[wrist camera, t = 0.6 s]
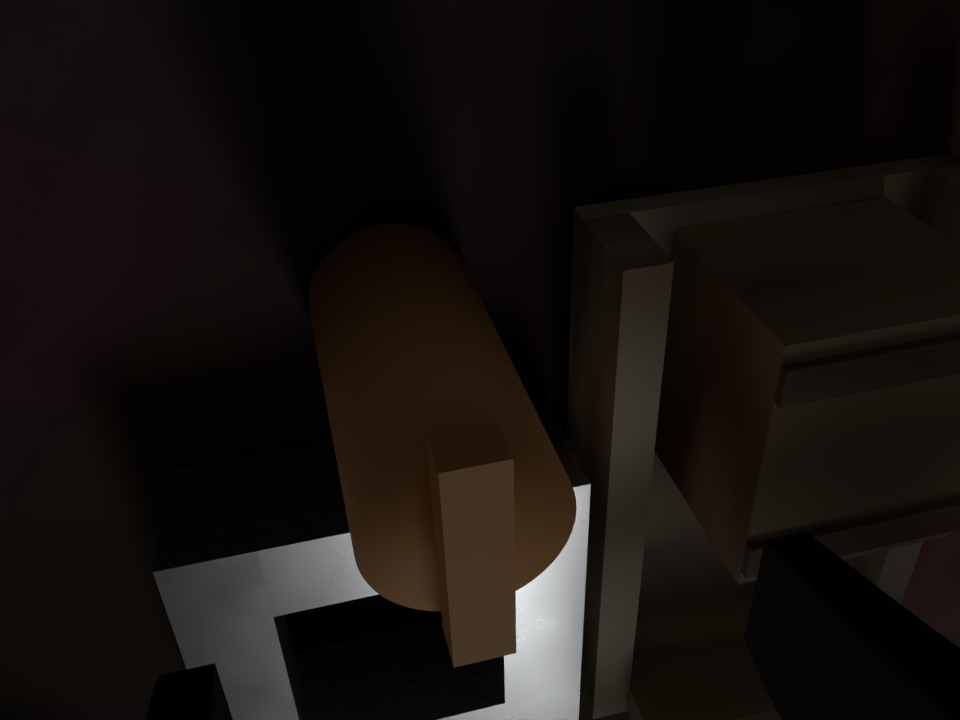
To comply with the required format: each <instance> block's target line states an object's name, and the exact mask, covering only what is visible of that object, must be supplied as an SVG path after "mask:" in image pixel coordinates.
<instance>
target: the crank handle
mask: <svg viewBox="0 0 960 720" xmlns="http://www.w3.org/2000/svg"><path fill="white" fill-rule="evenodd" d="M308 306H309V313H310V319H311V324H312V330H313V335H314V340H315V346H316V351H317V357H318V362H319V368H320V373H321V378H322V384H323V389H324V395H325V400H326V406H327V411H328V416H329V422H330V427H331V433H332V438H333V444H334V449H335V454H336V460H337V465H338V471H339V476H340V481H341V487H342V492H343V498H344V503H345V509H346V514H347V519H348V525H349V530H350V536H351V541H352V547H353V552H354V557H355V561H356V565H357V567H358V569H359V571H360V574H361V576H362V577H363V578H364V580H365V581H366V582H367V584H368V585H369V586H370V587H371V588H372V589H373V590H374V591H375V592H377V593H378V594H380V595H381V596H383V597H384V598H386V599H388V600H390V601H392V602H394V603H396V604H399V605H402V606H405V607H409V608H413V609H418V610H426V611H441V615H442V626H443V630H444V634H445V638H446V642H447V645H448V649H449V653H450V656H451V660H452V664H453V668H455V667H459V666H463V665H468V664H472V663H476V662H480V661H485V660H489V659H493V658H498V657H502V656H506V655H510V654H515V653H516V593H515V591H517V590H518V589H520V588H522V587H524V586H525V585H527V584H528V583H530V582H531V581H532V580H534V579H535V578H536V577H538V576H539V575H540V574H541V573H542V572H544V571H545V570H546V569H547V568H548V567H549V566H550V565H551V564H552V563H553V562H554V560H555V559H556V558H557V556H558V555H559V554H560V553H561V551H562V550H563V548H564V546H565V545H566V543H567V542H568V539H569V537H570V535H571V533H572V530H573V527H574V523H575V519H576V511H577V507H576V496H575V492H574V489H573V486H572V484H571V482H570V479H569V477H568V475H567V473H566V471H565V469H564V467H563V465H562V463H561V461H560V459H559V457H558V455H557V453H556V451H555V449H554V447H553V445H552V443H551V441H550V439H549V437H548V435H547V433H546V430H545V428H544V426H543V424H542V422H541V420H540V418H539V416H538V414H537V412H536V410H535V408H534V406H533V404H532V402H531V400H530V398H529V396H528V394H527V392H526V390H525V388H524V386H523V384H522V381H521V379H520V377H519V375H518V373H517V371H516V369H515V367H514V365H513V363H512V361H511V359H510V357H509V355H508V353H507V351H506V349H505V347H504V345H503V343H502V341H501V339H500V337H499V335H498V332H497V330H496V328H495V326H494V324H493V322H492V320H491V318H490V316H489V314H488V312H487V310H486V308H485V306H484V304H483V302H482V300H481V298H480V296H479V294H478V292H477V290H476V288H475V286H474V283H473V281H472V279H471V277H470V275H469V273H468V271H467V269H466V267H465V265H464V263H463V261H462V259H461V257H460V256H459V254H458V253H457V251H456V250H455V249H454V248H453V247H452V246H451V245H450V244H449V243H448V242H447V241H446V240H445V239H443V238H442V237H440V236H439V235H437V234H436V233H434V232H432V231H429V230H427V229H425V228H421V227H418V226H414V225H408V224H395V223H393V224H382V225H377V226H372V227H369V228H366V229H363V230H360V231H358V232H356V233H354V234H351V235H350V236H348V237H346V238H345V239H343V240H342V241H340V242H339V243H338V244H337V245H335V246H334V247H333V248H332V249H331V250H330V251H329V252H328V253H327V254H326V255H325V256H324V258H323V259H322V260H321V262H320V263H319V265H318V267H317V269H316V270H315V272H314V275H313V277H312V280H311V283H310V288H309V294H308Z"/></svg>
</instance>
